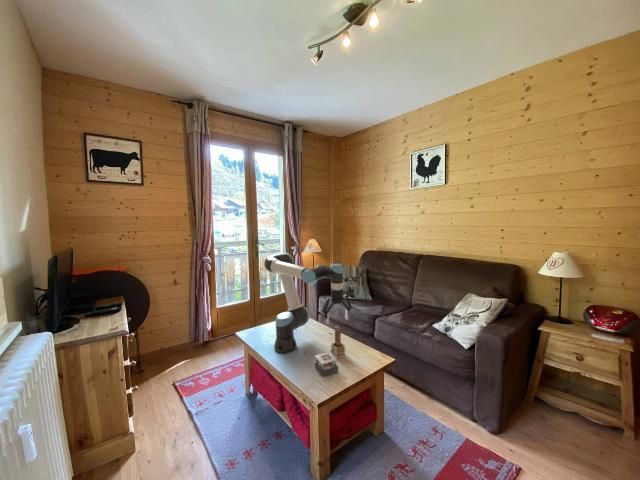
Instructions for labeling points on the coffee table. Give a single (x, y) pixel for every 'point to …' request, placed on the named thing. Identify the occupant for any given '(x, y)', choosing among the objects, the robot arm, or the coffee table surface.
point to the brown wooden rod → (337, 336)
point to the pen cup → (338, 350)
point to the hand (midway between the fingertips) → (337, 321)
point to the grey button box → (331, 360)
